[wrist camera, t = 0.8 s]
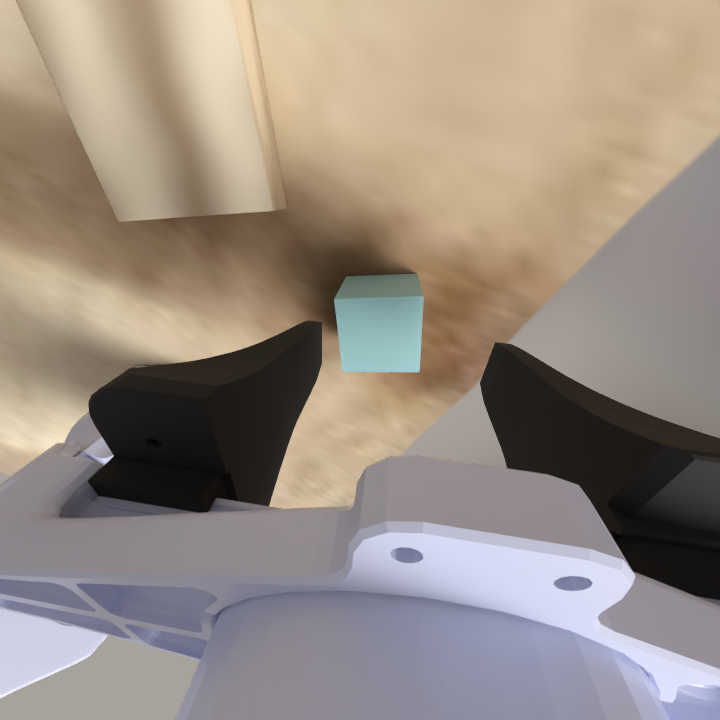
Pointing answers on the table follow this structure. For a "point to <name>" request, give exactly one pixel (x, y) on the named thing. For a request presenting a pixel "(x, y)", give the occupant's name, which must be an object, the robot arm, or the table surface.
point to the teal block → (380, 323)
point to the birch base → (165, 102)
